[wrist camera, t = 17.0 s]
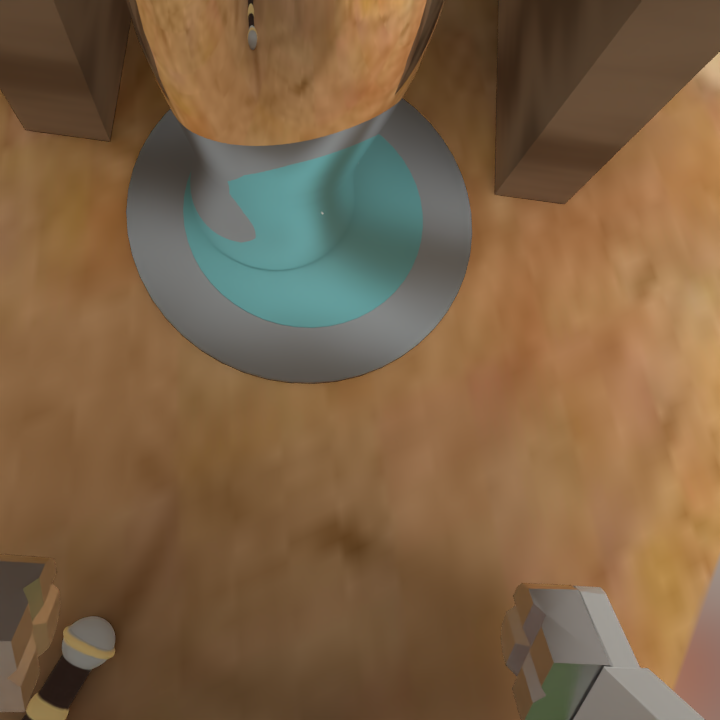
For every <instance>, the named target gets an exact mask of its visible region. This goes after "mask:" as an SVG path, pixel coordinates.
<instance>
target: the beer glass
mask: <svg viewBox="0 0 720 720" xmlns="http://www.w3.org/2000/svg"><path fill="white" fill-rule="evenodd" d="M126 2H127V5H128V8H129V11H130V15H131V18H132V21H133V25H134V28H135V31H136V35H137V37H138V40H139V43H140V45H141V47H142V50H143V52H144V54H145V57H146V59H147V61H148V63H149V66H150V68H151V70H152V73H153V75H154V77H155V79H156V82H157V84H158V86H159V88H160V90H161V92H162V94H163V96H164V98H165V99H166V101H167V103H168V105H169V107H170V109H171V111H172V113H173V115H174V116H175V118H176V120H177V122H178V124H179V126H180V127H181V129H182V131H183V133H184V135H185V136H186V138H187V140H188V142H189V144H190V146H191V148H192V150H193V153H194V159H193V164H192V170H191V177H190V199H191V205H192V209H193V213H194V215H195V218H196V220H197V222H198V224H199V226H200V228H201V230H202V231H203V233H204V234H205V235H206V237H207V238H208V239H209V240H210V241H211V242H212V244H213V245H214V246H216V247H217V248H218V249H219V250H220V251H221V252H223V253H224V254H225V255H227V256H228V257H230V258H232V259H234V260H235V261H237V262H240V263H242V264H244V265H247V266H250V267H254V268H258V269H264V270H289V269H294V268H299V267H302V266H305V265H308V264H310V263H312V262H314V261H316V260H318V259H320V258H321V257H323V256H324V255H326V254H327V253H328V252H329V251H331V250H332V249H333V248H334V247H335V246H336V245H337V243H338V242H339V241H340V240H341V238H342V237H343V236H344V234H345V232H346V231H347V229H348V227H349V224H350V222H351V219H352V216H353V212H354V206H355V188H354V170H355V168H356V166H357V164H358V163H359V161H360V160H361V158H362V157H363V156H364V154H365V153H366V151H367V150H368V149H369V147H370V146H371V144H372V143H373V142H374V140H375V139H376V137H377V136H378V135H379V133H380V132H381V130H382V129H383V127H384V126H385V124H386V123H387V122H388V120H389V119H390V117H391V116H392V114H393V113H394V111H395V109H396V108H397V106H398V104H399V103H400V101H401V99H402V97H403V96H404V94H405V92H406V90H407V89H408V87H409V85H410V84H411V82H412V80H413V78H414V77H415V75H416V73H417V71H418V68H419V66H420V64H421V61H422V59H423V57H424V54H425V52H426V50H427V47H428V45H429V42H430V40H431V38H432V35H433V33H434V31H435V28H436V26H437V23H438V20H439V17H440V14H441V11H442V8H443V5H444V2H445V0H126Z"/></svg>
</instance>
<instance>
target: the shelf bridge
mask: <svg viewBox="0 0 720 720" xmlns="http://www.w3.org/2000/svg"><path fill="white" fill-rule="evenodd" d="M130 21H131V15H130V11H129V8H128V5H127V2H126V0H0V89H1V91H2V93H3V94H4V96H5V98H6V99H7V101H8V102H9V104H10V106H11V107H12V109H13V111H14V112H15V114H16V115H17V117H18V119H19V120H20V122H21V124H22V125H23V127H24V128H25V130H31V131H38V132H46V133H53V134H60V135H67V136H75V137H82V138H89V139H96V140H104V141H110V138H111V132H112V126H113V121H114V115H115V109H116V103H117V97H118V91H119V86H120V80H121V74H122V68H123V62H124V56H125V51H126V45H127V39H128V33H129V27H130ZM719 52H720V0H499V1H498V52H497V104H496V155H495V194H496V195H503V196H510V197H518V198H525V199H532V200H540V201H547V202H554V203H561V204H565V203H566V202H567V201H568V200H569V199H570V198H571V197H572V196H573V195H574V194H575V193H576V192H577V191H578V190H579V189H580V188H581V187H583V186H584V185H585V184H586V183H587V182H588V181H589V180H590V179H591V178H592V177H593V176H594V175H595V174H596V173H597V172H598V171H599V170H600V169H601V168H602V167H603V166H604V165H605V164H606V163H607V162H608V161H609V160H610V159H611V158H612V157H613V156H614V155H615V154H616V153H617V152H618V151H619V150H620V149H621V148H622V147H623V146H624V145H625V144H626V143H627V142H628V141H629V140H630V139H631V138H632V137H633V136H634V135H635V134H636V133H637V132H638V131H639V130H640V129H641V128H642V127H643V126H644V125H645V124H647V123H648V122H649V121H650V120H651V119H652V118H653V117H654V116H655V115H656V114H657V113H658V112H659V111H660V110H661V109H662V108H663V107H664V106H665V105H666V104H667V103H668V102H669V101H670V100H671V99H672V98H673V97H674V96H675V95H676V94H677V93H678V92H679V91H680V90H681V89H682V88H683V87H684V86H685V85H686V84H687V83H688V82H689V81H690V80H691V79H692V78H693V77H694V76H695V75H696V74H697V73H698V72H699V71H700V70H701V69H702V68H703V67H704V66H705V65H706V64H707V63H708V62H709V61H711V60H712V59H713V58H714V57H715V56H716V55H717V54H718V53H719ZM193 159H194V153H193V150H192V148H191V146H190V144H189V142H188V140H187V138H186V136H185V135H184V133H183V131H182V129H181V127H180V126H179V124H178V122H177V120H176V118H175V116H174V115H173V113H172V111H171V109H170V110H169V111H168V112H167V113H166V114H165V115H164V116H163V117H162V119H161V120H160V121H159V122H158V124H157V125H156V126H155V128H154V129H153V130H152V131H151V133H150V135H149V137H148V138H147V140H146V142H145V143H144V145H143V147H142V149H141V151H140V153H139V156H138V158H137V161H136V163H135V166H134V168H133V172H132V176H131V180H130V185H129V189H128V199H127V210H126V213H127V230H128V237H129V242H130V247H131V251H132V256H133V259H134V261H135V264H136V267H137V269H138V272H139V275H140V277H141V279H142V281H143V283H144V285H145V287H146V289H147V291H148V292H149V294H150V296H151V298H152V300H153V301H154V303H155V304H156V305H157V307H158V308H159V309H160V311H161V312H162V314H163V315H164V316H165V318H166V319H167V320H168V321H169V322H170V323H171V324H172V325H173V326H174V327H175V328H176V329H177V330H178V331H179V332H180V333H181V334H182V336H184V337H185V338H186V339H188V340H189V341H190V342H191V343H193V344H194V345H195V346H196V347H198V348H199V349H200V350H201V351H203V352H205V353H206V354H208V355H210V356H211V357H213V358H215V359H216V360H218V361H220V362H221V363H223V364H226V365H228V366H230V367H233V368H235V369H237V370H239V371H242V372H244V373H248V374H251V375H254V376H258V377H261V378H265V379H269V380H276V381H282V382H288V383H313V384H314V383H324V382H334V381H340V380H344V379H349V378H353V377H357V376H361V375H363V374H366V373H369V372H371V371H374V370H376V369H379V368H381V367H383V366H385V365H387V364H389V363H391V362H392V361H394V360H396V359H398V358H400V357H401V356H403V355H404V354H405V353H407V352H408V351H409V350H411V349H412V348H413V347H415V346H416V345H418V344H419V343H420V342H421V341H422V340H423V339H424V338H425V337H426V336H427V335H428V334H429V333H430V332H431V331H432V330H433V329H434V328H435V327H436V325H437V324H438V323H439V321H440V320H441V319H442V318H443V316H444V315H445V314H446V312H447V311H448V309H449V308H450V306H451V304H452V302H453V301H454V299H455V297H456V295H457V294H458V291H459V289H460V286H461V284H462V281H463V279H464V276H465V273H466V269H467V265H468V261H469V257H470V250H471V239H472V221H471V210H470V204H469V199H468V193H467V190H466V187H465V184H464V181H463V177H462V174H461V172H460V170H459V168H458V166H457V163H456V161H455V159H454V157H453V155H452V154H451V152H450V150H449V149H448V147H447V145H446V144H445V142H444V141H443V139H442V138H441V136H440V135H439V134H438V133H437V131H436V130H435V129H434V128H433V126H432V125H431V124H430V123H429V122H428V121H427V120H426V119H425V118H424V117H423V116H422V115H421V114H420V113H419V112H418V111H417V110H416V109H415V108H414V107H413V106H411V105H410V104H409V103H408V102H406V101H405V100H404V99H403V98H402V99H401V101H400V103H399V104H398V106H397V108H396V109H395V111H394V113H393V114H392V116H391V117H390V119H389V120H388V122H387V123H386V124H385V126H384V127H383V129H382V130H381V132H380V133H379V135H378V136H377V137H376V139H375V140H374V142H373V143H372V144H371V146H370V147H369V149H368V150H367V151H366V153H365V154H364V156H363V157H362V158H361V160H360V161H359V163H358V164H357V166H356V168H355V170H354V188H355V206H354V212H353V216H352V219H351V222H350V224H349V227H348V229H347V231H346V232H345V234H344V236H343V237H342V238H341V240H340V241H339V242H338V243H337V245H336V246H335V247H334V248H333V249H332V250H331V251H329V252H328V253H327V254H326V255H324V256H323V257H321V258H320V259H318V260H316V261H314V262H312V263H310V264H308V265H305V266H302V267H299V268H294V269H289V270H264V269H258V268H254V267H250V266H247V265H244V264H242V263H240V262H237V261H235V260H234V259H232V258H230V257H228V256H227V255H225V254H224V253H223V252H221V251H220V250H219V249H218V248H217V247H216V246H214V245H213V244H212V242H211V241H210V240H209V239H208V238H207V237H206V235H205V234H204V233H203V231H202V230H201V228H200V226H199V224H198V222H197V220H196V218H195V215H194V213H193V209H192V205H191V199H190V177H191V170H192V164H193Z"/></svg>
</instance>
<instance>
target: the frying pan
mask: <svg viewBox="0 0 720 720" xmlns="http://www.w3.org/2000/svg"><path fill="white" fill-rule="evenodd" d="M63 636H64V638H63V641H62V653H63V655H62V656H61V658H60V660H59V661H58V663H57V664H56V666H55V668H54V669H53V671H52V673H51V674H50V676H49V677H48V679H47V681H46V682H45V684H44V685H43V687H42V689H41V690H40V691H39V692H38V693H36V694H35V695H34V696H33V697H32V699H31V700H30V702H29V704H28V706H27V709H26V715H25V716H24V718H23V719H22V720H65V719H66V717H67V715H68V712H69V706H70V705H71V703H72V701H73V700H74V698H75V696H76V695H77V693H78V691H79V690H80V688H81V686H82V685H83V683H84V681H85V680H86V678H87V676H88V675H89V673H90V671H91V670H92V669H93V668H95V667H98V666H100V665H101V664H103V663H104V662H105V661H106V660H107V659H109V658H111V657H113V656H114V654H115V648H114V645H115V633H114V630H113V628H112V626H111V624H110V623H109V622H108V621H106V620H105V619H103V618H101V617H97V616H89V617H84V618H82V619H79V620H78V621H76V622H75V623H73V624H72V625H70V626H67V627H66V628H65V629H64V631H63Z"/></svg>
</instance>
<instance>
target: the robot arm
mask: <svg viewBox="0 0 720 720" xmlns="http://www.w3.org/2000/svg"><path fill="white" fill-rule="evenodd" d="M56 573H57V569H56V563H55V559H54V558H47V557H35V556H22V555H10V554H0V712H25V711H26V708H27V706H28V703H29V701H30V698H31V695H32V693H33V690H34V688H35V685H36V682H37V680H38V677H39V675H40V667H39V661H38V657H39V656H40V655H41V654H42V653H43V652H45V651H46V650H47V649H48V648H49V647H50V645H51V643H52V640H53V637H54V634H55V631H56V627H57V623H58V618H59V614H60V591H59V589H58V588H57V587H56V586H55V585H53V584H52V583H53V581H54V578H55V576H56ZM513 598H514V601H515V604H516V606H514V607H513V608H511V609H510V610H508V611H507V612H506V614H505V617H504V620H503V622H502V629H501V645H502V652H503V656H504V660H505V664H506V666H507V667H508V668H509V669H510V670H511V671H512V672H513V673H514V674H515V675H516V676H517V678H516V680H515V683H514V685H513V687H512V690H513V694H514V697H515V701H516V705H517V708H518V712H519V716H520V719H521V720H705V719H704V718H703V717H702V716H701V715H699V714H698V713H697V712H696V711H695V710H694V709H693V708H692V707H690V706H689V705H688V704H687V703H686V702H685V701H684V700H683V699H682V698H681V697H679V696H678V695H677V694H676V693H675V692H674V691H673V690H672V689H670V688H669V687H668V686H667V685H666V684H665V683H664V682H663V681H662V680H660V679H659V678H658V677H657V676H656V675H655V674H654V673H653V672H652V671H650V670H649V669H648V668H640V666H639V664H638V662H637V660H636V657H635V655H634V653H633V651H632V649H631V647H630V645H629V642H628V640H627V638H626V636H625V634H624V632H623V630H622V627H621V625H620V623H619V621H618V619H617V617H616V614H615V612H614V610H613V608H612V606H611V604H610V602H609V599H608V597H607V595H606V593H605V592H604V591H603V590H602V589H601V588H600V587H586V586H571V585H557V584H532V583H521V584H520V585H519V586H518V587H517V588H516V590H515V593H514V595H513Z"/></svg>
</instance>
